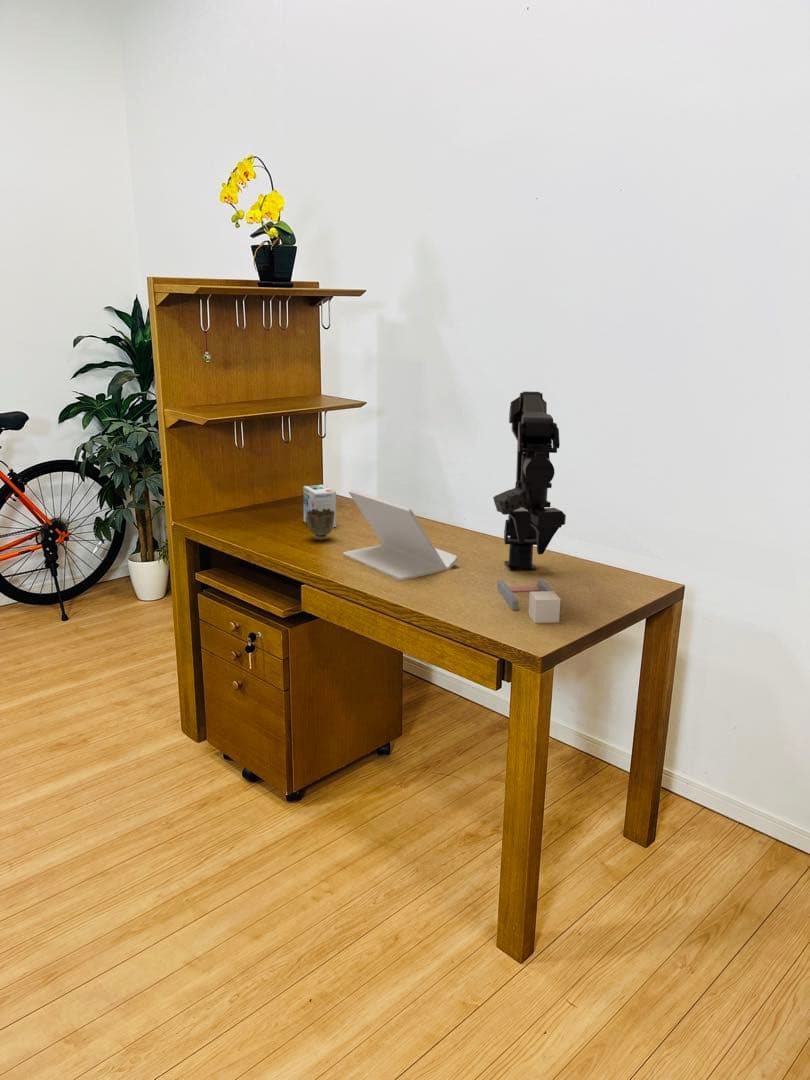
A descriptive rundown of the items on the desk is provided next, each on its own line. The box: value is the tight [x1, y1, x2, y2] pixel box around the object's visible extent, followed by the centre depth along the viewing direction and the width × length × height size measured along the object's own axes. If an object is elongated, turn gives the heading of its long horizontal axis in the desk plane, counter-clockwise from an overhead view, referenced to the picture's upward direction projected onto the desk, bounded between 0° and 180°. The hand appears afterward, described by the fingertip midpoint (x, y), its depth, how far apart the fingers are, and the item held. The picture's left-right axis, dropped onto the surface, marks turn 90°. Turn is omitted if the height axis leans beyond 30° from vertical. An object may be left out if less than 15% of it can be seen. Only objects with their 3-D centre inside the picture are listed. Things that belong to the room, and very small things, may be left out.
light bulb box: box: [302, 484, 337, 528], centre depth 236 cm, size 11×7×11 cm, turn 25°
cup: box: [307, 509, 335, 542], centre depth 221 cm, size 8×7×8 cm
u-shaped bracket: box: [497, 578, 562, 611], centre depth 179 cm, size 14×10×2 cm
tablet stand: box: [342, 489, 459, 581], centre depth 202 cm, size 18×25×17 cm
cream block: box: [528, 590, 562, 624], centre depth 167 cm, size 5×5×5 cm
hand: (530, 548), depth 176 cm, fingers open, 9 cm apart
